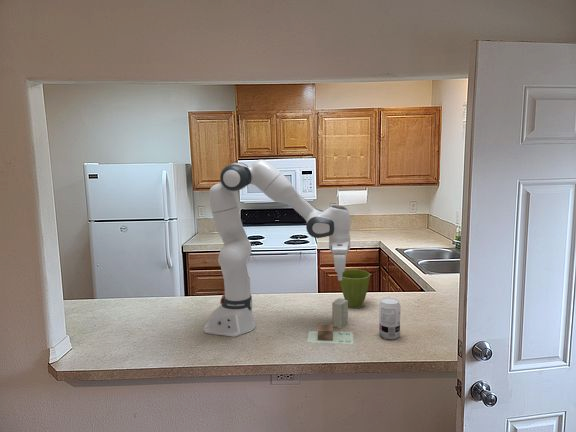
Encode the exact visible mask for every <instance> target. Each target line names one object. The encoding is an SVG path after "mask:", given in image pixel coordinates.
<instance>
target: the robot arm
mask: <svg viewBox="0 0 576 432" xmlns="http://www.w3.org/2000/svg"><path fill="white" fill-rule="evenodd" d="M219 176H220V177H219V179H220V182H218V183H216V184H214V185H213V186H211V187H210V189H209V191H208V195H209V196H208V197H209V205H210V210H211V215H212V218H213V219H212V220H213V222H214V227H215V231H216V232H217V233H218V234H219V236H220V238H221V240H222V243H223V247H222V248H221V249H220V251H219V253H218V257H217V261H218V265H219V267H220V268H221V269H220V270H221V273H222V278H223V283H224V294H223V295H222V296H221V298H220V302H219V304H220V305H219V306H217V308H215V309H214V310H213V311H212V312H211V313H210V315H209V320H208V321H207V322H206V323H205V324H204V326H203V332H204V333H205V334H210V335H218V336H225V337H226V336H227V337H233V338H235V337H238V336H240V335H243V334H247V333H250V332H251V331H254V329H256V327H257V325H256V322H255V318H254V315H253V309H252V308H253V298H252V293H251V278H250V276H249V272H248V267H247V264H248V263H247V261H248V258H250V257H251V254H252V244H251V242H250V240H249V238H248V235H247V233H246V231H245V229H244V226H243V225H244V224H243V222H242V218H241V214H240V209H239V206H238V202H237V197H236V195H237V192H238V191H240V190H243V189H245V188H246V187H247V186H248V185H254V186H255V187H256V188H258V189H259V190H260V191H261V192H262V193H263V194H264V195H265V196H266V197H268V198H269V199H270V200H272V201H274V202H276V203H279V204H285V205H288V206H289V207H290V208H292V209H294V211H295V212H296V213H298V214H299V215H300V216H301V217H302V218H303V219H304V220H305V222H306V232H307V234H308V235H309V236H310V237H312V238H315V239H320V238H321V239H322V238H327V237H328V249H329V250H330V251H331V254H332V255H333V265H334V271H335V273H336V274H337V280H338V281H339V282H340V281H341V280H342V275H343V272H344V271H345V270H346V264H347V263H346V261H347V255H348V253H349V250H350V249H351V234H350V229H351V215H350V211H349V210H348V208H346V207H344V206H341V205H330V207H328V208H327V209H325V210H321V209H318V208H316V207H314V206H313V205H312V204H310V203H309V202H308V201H307V200H306V199H305V198H304V197H303V196H302V195H301V194H299V192H298V191H297V190H296V189H295V187H294V186H293V184H292V183H291V182H290V180H289V179H288V178H287V177H286V176H285V175H284V174H283V173H282V172H281V171H280V170H279V169H278V168H276V166H274V165H272V164H271V163H270V162H268V161H266V160H264V159H258V160H255V161H254V162H253V163H252V164H251V165H247V164H246V163H243V162H231V163H230V164H227V165H225V167H224V168H223V169H222V170H221V172H220V175H219Z"/></svg>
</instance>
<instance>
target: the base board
mask: <svg viewBox="0 0 576 432" xmlns="http://www.w3.org/2000/svg"><path fill="white" fill-rule="evenodd" d="M307 343H314V344H343V345H344V344H345V345H346V344H348V345H353V344H354V334H353V331H341V330H339V331H333V341H325V340H318V330H308V335H307Z"/></svg>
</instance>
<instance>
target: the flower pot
mask: <svg viewBox="0 0 576 432" xmlns="http://www.w3.org/2000/svg"><path fill="white" fill-rule="evenodd" d="M370 278H371V273H370V272H368V271H366V270H361V269H345V271H344V272H343V275H342V280H341V281H339V284H340V288H341V291H342V295H343V297H344V298H343V299H345V300H348V308H352V309H357V308H361V307H362V306H363V305H364V302H365V299H366V296H367V293H368V290H369V283H370Z"/></svg>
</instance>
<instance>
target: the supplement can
mask: <svg viewBox="0 0 576 432" xmlns="http://www.w3.org/2000/svg"><path fill="white" fill-rule="evenodd" d="M378 321H379V324H378V327H379V329H378V330H379V331H378V333H379V336H380V337H381V338H383V339H386V340H390V339H391V340H396V339H398V338H399V337H400V335H401V303H400V301H399V299H397V298H393V297H383V298H381V299H380V302H379V320H378Z"/></svg>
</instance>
